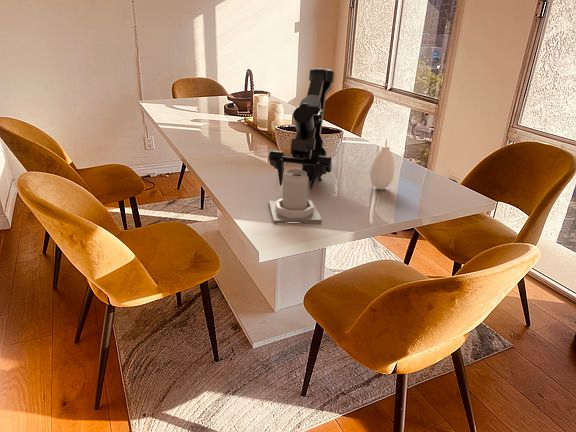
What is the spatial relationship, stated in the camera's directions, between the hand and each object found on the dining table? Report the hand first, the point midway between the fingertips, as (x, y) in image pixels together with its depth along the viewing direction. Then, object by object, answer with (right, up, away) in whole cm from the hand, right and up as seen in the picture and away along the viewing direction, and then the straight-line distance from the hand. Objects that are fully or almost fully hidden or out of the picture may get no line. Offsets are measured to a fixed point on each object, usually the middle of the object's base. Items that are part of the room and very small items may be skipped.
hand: (295, 187), depth 132 cm
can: (0, -7, +3) cm, 8 cm away
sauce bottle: (+30, +1, +24) cm, 38 cm away
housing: (0, -8, +3) cm, 8 cm away
